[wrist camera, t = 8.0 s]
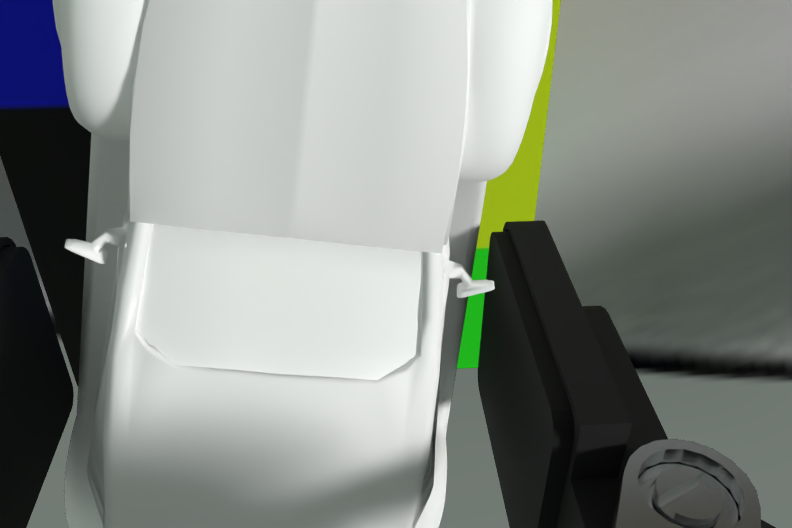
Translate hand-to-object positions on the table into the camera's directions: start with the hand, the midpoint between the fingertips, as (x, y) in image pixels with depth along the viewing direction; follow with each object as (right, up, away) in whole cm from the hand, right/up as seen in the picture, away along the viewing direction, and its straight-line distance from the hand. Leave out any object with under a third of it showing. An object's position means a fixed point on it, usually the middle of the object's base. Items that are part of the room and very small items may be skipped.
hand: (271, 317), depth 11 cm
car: (0, +1, +1) cm, 1 cm away
